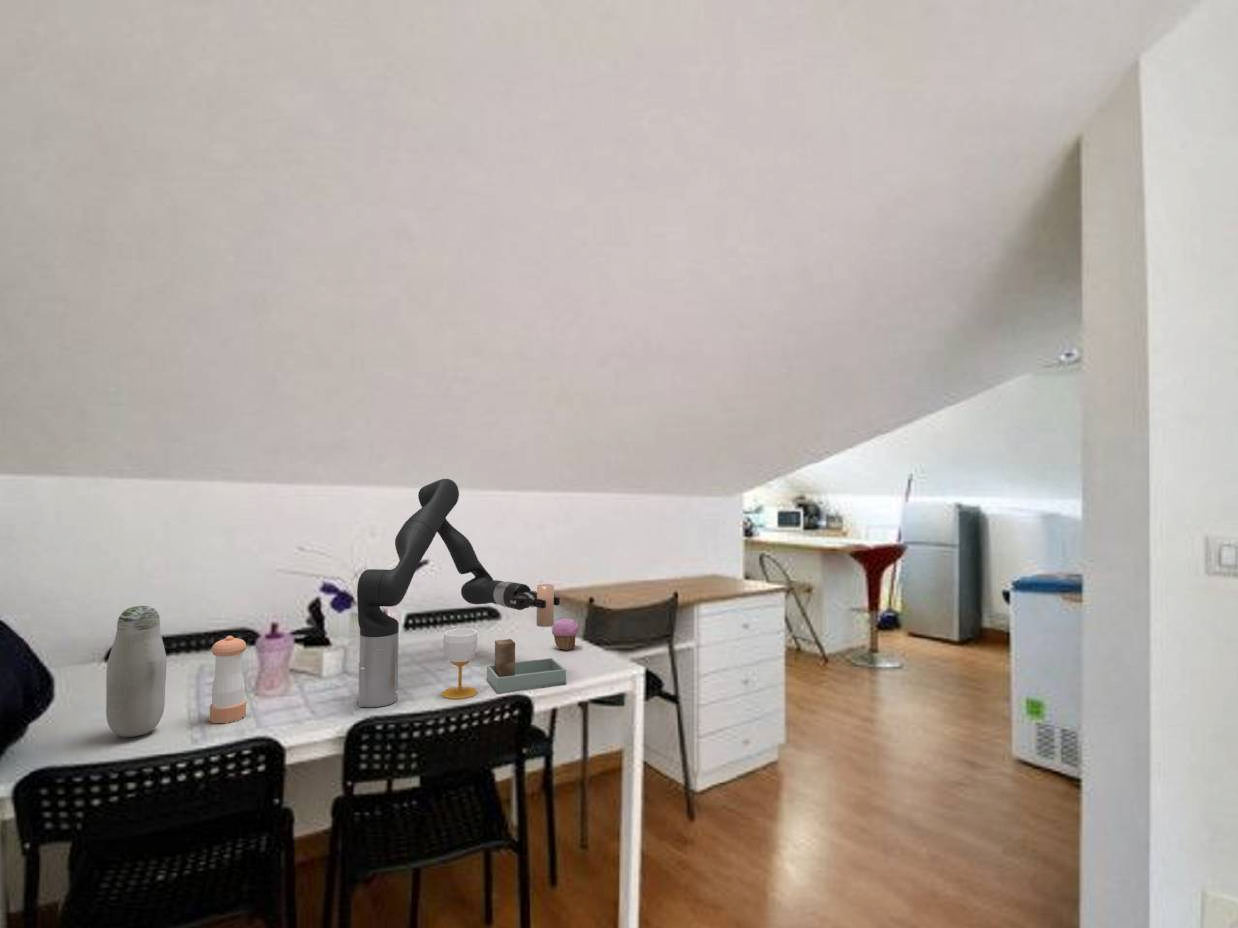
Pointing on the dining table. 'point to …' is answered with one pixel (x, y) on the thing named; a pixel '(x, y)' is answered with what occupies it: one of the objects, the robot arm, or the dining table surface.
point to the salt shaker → (228, 681)
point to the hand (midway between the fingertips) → (551, 602)
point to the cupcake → (565, 633)
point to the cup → (460, 658)
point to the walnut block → (505, 658)
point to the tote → (528, 676)
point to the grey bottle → (136, 673)
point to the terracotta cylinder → (546, 614)
